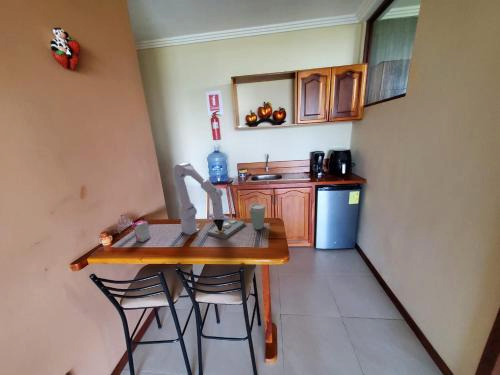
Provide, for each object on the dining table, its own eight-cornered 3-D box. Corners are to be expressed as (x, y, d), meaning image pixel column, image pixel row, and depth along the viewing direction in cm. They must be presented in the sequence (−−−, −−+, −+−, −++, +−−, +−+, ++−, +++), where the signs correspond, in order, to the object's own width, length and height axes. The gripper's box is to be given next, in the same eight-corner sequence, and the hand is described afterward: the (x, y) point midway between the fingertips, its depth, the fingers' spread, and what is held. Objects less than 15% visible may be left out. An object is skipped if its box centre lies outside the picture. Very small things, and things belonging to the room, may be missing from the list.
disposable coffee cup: (264, 223, 132) (263, 201, 128) (268, 230, 122) (267, 207, 118) (249, 224, 131) (247, 203, 127) (251, 232, 120) (249, 209, 117)
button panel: (207, 234, 121) (207, 231, 121) (228, 221, 138) (228, 218, 138) (225, 239, 114) (224, 236, 114) (245, 224, 131) (244, 222, 131)
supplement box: (151, 238, 122) (147, 221, 119) (142, 242, 116) (138, 225, 114) (144, 236, 124) (141, 219, 121) (136, 241, 119) (132, 223, 116)
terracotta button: (215, 233, 120) (215, 230, 120) (220, 230, 124) (219, 227, 123) (220, 234, 118) (220, 231, 118) (225, 232, 121) (224, 229, 121)
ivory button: (222, 227, 125) (222, 225, 125) (226, 225, 129) (226, 222, 128) (227, 229, 123) (227, 226, 123) (231, 226, 126) (231, 223, 126)
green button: (228, 225, 131) (228, 222, 130) (232, 222, 134) (232, 220, 134) (233, 226, 129) (233, 223, 128) (237, 223, 132) (237, 221, 131)
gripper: (204, 209, 118) (206, 230, 121) (222, 213, 110) (225, 235, 113) (212, 205, 123) (214, 225, 127) (230, 209, 116) (232, 230, 119)
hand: (220, 229), depth 120 cm, fingers closed, pressing on terracotta button
